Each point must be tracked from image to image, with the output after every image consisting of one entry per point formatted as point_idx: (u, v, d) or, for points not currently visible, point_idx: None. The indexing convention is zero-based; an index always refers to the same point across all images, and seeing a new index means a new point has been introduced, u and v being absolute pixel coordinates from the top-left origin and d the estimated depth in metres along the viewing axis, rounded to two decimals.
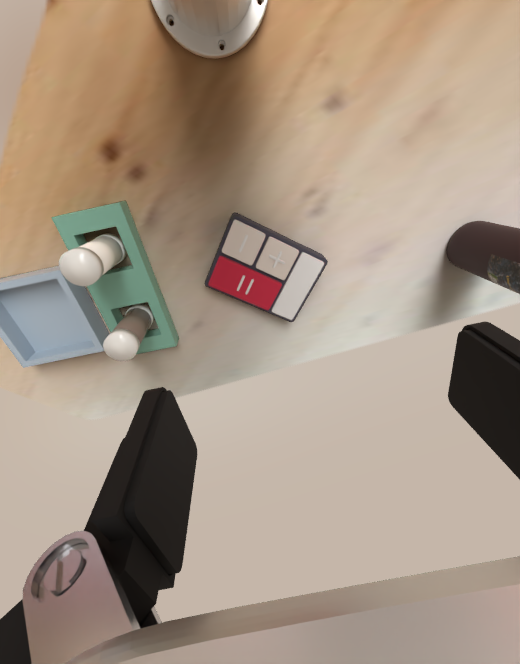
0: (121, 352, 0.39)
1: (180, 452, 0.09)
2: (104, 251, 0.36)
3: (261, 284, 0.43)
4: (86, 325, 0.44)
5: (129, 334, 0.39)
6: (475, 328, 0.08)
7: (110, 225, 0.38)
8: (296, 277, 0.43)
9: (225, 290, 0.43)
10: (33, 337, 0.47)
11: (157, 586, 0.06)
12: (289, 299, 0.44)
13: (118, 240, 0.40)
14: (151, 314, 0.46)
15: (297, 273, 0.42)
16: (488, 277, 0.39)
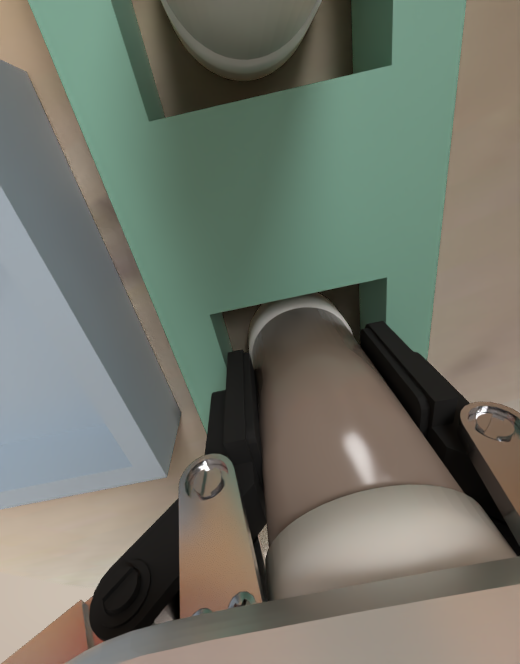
0: None
1: None
2: None
3: None
4: (97, 390, 0.09)
5: (512, 554, 0.04)
6: (370, 326, 0.09)
7: None
8: None
9: None
10: None
11: (265, 509, 0.07)
12: None
13: None
14: None
15: None
16: None
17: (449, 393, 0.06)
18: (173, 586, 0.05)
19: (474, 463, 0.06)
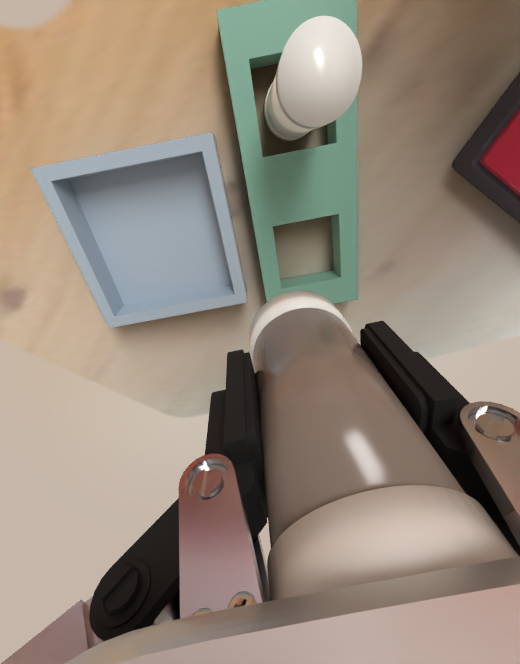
0: None
1: None
2: None
3: None
4: (230, 253, 0.25)
5: (513, 553, 0.04)
6: (370, 326, 0.09)
7: None
8: None
9: (508, 175, 0.24)
10: (124, 278, 0.28)
11: (265, 509, 0.07)
12: None
13: None
14: None
15: None
16: None
17: (449, 393, 0.06)
18: (173, 586, 0.05)
19: (474, 463, 0.06)
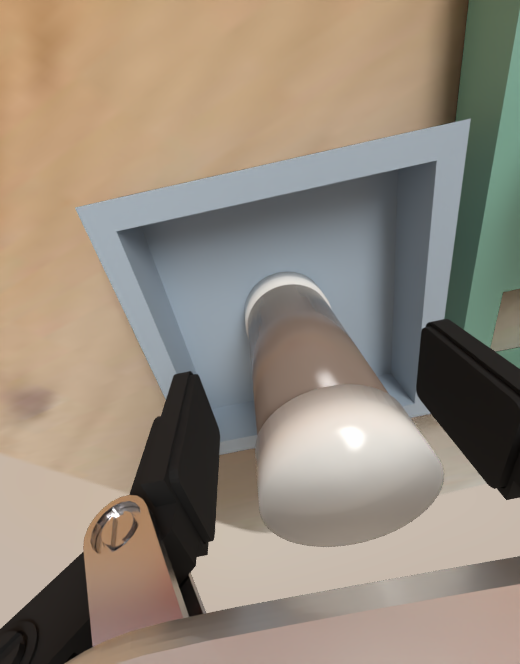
0: (348, 515, 0.07)
1: (208, 432, 0.09)
2: None
3: None
4: None
5: (410, 422, 0.07)
6: (435, 325, 0.09)
7: None
8: None
9: None
10: (216, 373, 0.17)
11: (196, 550, 0.07)
12: None
13: None
14: None
15: None
16: None
17: None
18: (66, 631, 0.05)
19: None
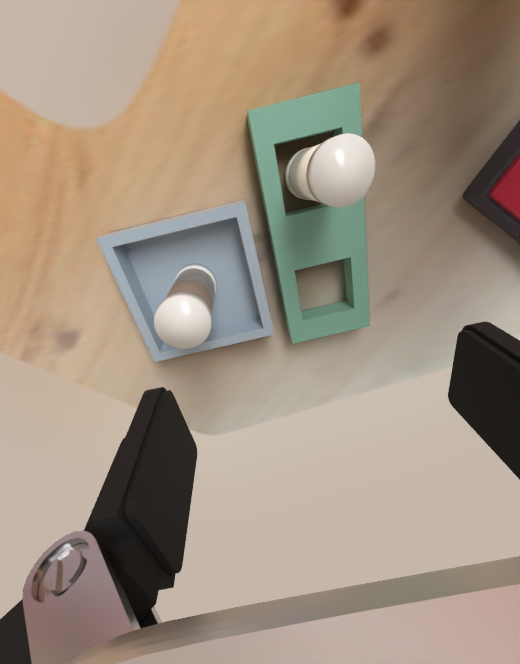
0: (184, 332, 0.22)
1: (180, 452, 0.09)
2: None
3: None
4: (259, 295, 0.29)
5: (198, 300, 0.22)
6: (475, 328, 0.08)
7: (334, 125, 0.24)
8: None
9: (513, 206, 0.28)
10: None
11: (157, 586, 0.06)
12: None
13: None
14: (214, 279, 0.30)
15: None
16: None
17: None
18: None
19: None
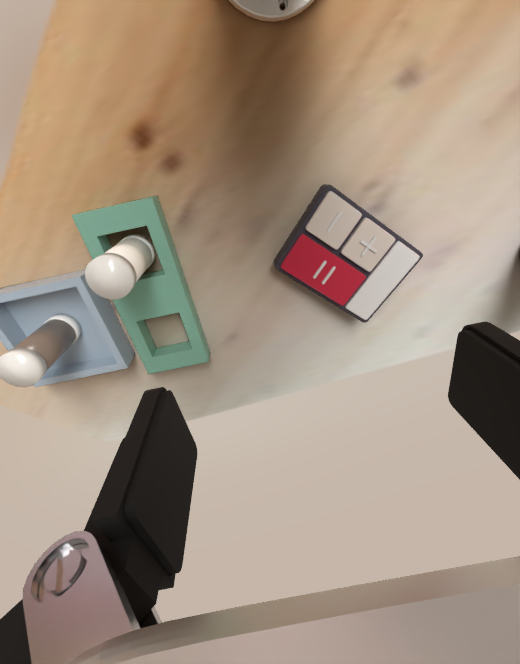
0: (20, 376, 0.31)
1: (180, 452, 0.09)
2: (136, 257, 0.31)
3: (343, 274, 0.36)
4: (108, 340, 0.38)
5: (28, 354, 0.31)
6: (475, 328, 0.08)
7: (140, 224, 0.33)
8: (384, 270, 0.36)
9: (299, 276, 0.36)
10: None
11: (157, 586, 0.06)
12: (368, 295, 0.38)
13: (148, 243, 0.35)
14: (75, 326, 0.39)
15: (386, 265, 0.36)
16: None
17: None
18: None
19: None
